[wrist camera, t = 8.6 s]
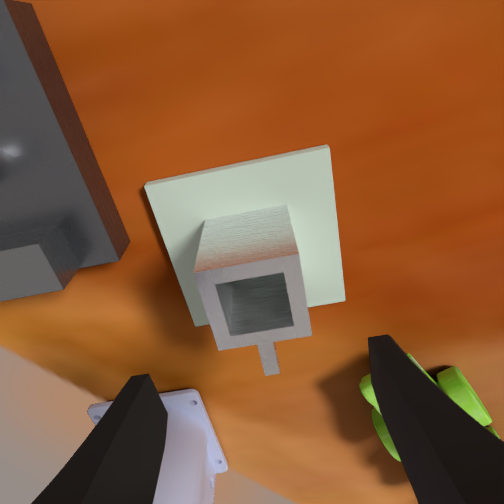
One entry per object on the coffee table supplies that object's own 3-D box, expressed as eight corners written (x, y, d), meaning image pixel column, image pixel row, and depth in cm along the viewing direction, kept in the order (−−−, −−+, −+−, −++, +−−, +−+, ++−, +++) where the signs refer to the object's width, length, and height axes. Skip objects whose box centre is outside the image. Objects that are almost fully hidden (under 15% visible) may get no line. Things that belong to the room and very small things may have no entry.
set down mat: (343, 294, 22) (345, 300, 22) (196, 320, 23) (195, 326, 23) (327, 144, 18) (329, 147, 17) (146, 182, 19) (143, 186, 18)
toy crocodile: (331, 359, 25) (354, 445, 20) (424, 312, 23) (477, 393, 18) (443, 490, 33) (481, 576, 28) (519, 463, 31) (575, 549, 26)
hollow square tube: (302, 302, 22) (317, 367, 17) (232, 314, 22) (228, 381, 18) (286, 204, 19) (299, 253, 14) (204, 219, 19) (193, 272, 15)
